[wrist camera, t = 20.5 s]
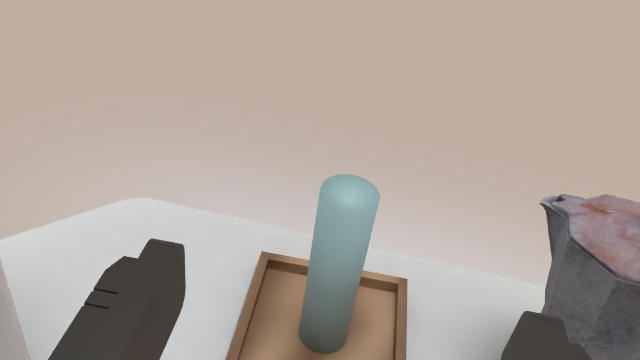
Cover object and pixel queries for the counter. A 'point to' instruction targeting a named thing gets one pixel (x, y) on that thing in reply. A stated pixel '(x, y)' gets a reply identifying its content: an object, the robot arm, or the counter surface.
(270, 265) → the tray
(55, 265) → the counter surface
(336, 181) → the dowel pin
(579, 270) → the moka pot
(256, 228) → the counter surface
